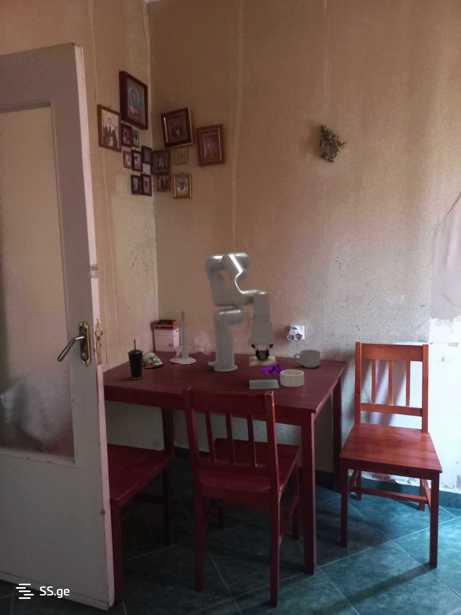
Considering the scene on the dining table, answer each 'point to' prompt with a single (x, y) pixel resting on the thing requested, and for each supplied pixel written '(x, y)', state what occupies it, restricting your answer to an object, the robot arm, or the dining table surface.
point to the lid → (262, 359)
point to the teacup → (308, 358)
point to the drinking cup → (135, 362)
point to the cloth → (273, 370)
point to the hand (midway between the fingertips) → (262, 357)
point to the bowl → (292, 378)
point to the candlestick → (184, 344)
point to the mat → (263, 384)
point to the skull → (151, 359)
